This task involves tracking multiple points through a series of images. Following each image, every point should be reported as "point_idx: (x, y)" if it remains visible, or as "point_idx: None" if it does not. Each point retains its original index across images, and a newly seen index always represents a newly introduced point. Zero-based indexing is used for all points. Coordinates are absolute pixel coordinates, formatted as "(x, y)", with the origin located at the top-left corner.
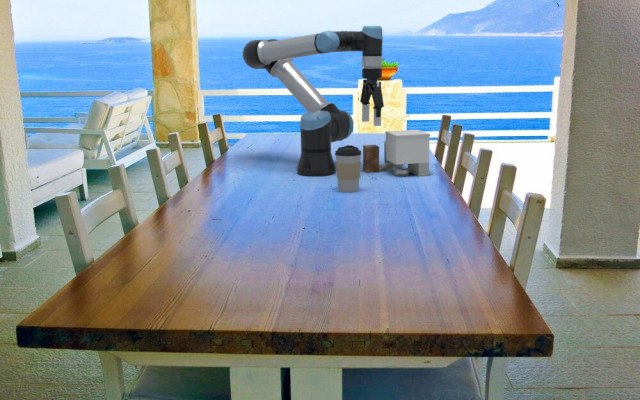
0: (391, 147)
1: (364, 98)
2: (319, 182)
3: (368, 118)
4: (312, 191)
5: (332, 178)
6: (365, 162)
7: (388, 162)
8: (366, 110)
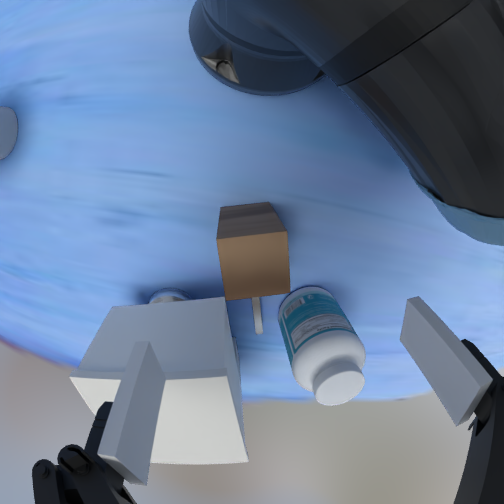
0: (145, 337)
1: (489, 455)
2: (94, 40)
3: (409, 348)
4: (9, 47)
5: (143, 74)
6: (238, 214)
7: (291, 303)
8: (443, 377)
